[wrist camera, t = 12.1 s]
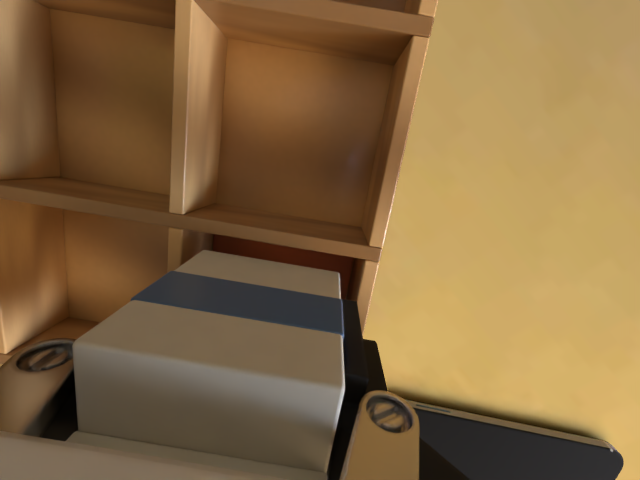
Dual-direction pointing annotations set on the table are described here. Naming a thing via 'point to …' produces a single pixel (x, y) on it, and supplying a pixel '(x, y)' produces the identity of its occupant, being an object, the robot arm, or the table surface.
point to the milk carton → (219, 368)
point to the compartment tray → (194, 144)
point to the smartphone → (513, 448)
